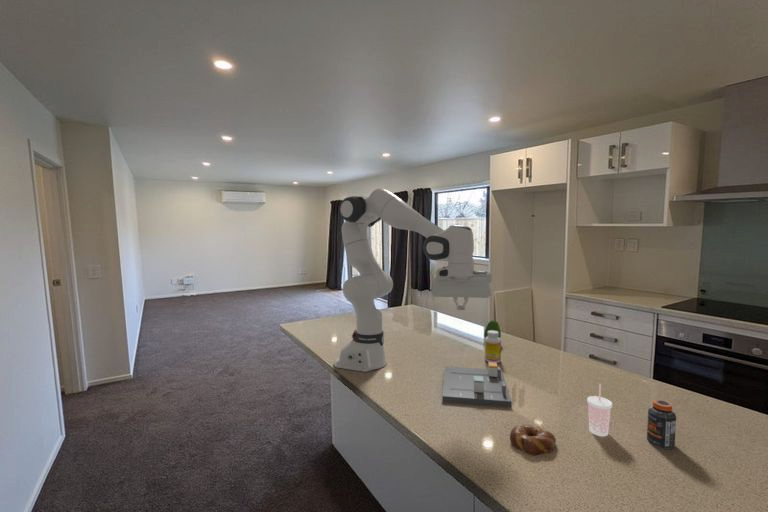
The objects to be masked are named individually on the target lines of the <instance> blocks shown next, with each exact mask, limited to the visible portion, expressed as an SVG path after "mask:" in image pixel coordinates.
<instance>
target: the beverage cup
mask: <svg viewBox="0 0 768 512" xmlns="http://www.w3.org/2000/svg"><path fill="white" fill-rule="evenodd" d="M601 393H602V383H598V396H597V395H591V396H587V398H586V399H587V400H586V403H587V406H588V407H587V408H588V411H587V412H588V431H589V432H590V433H591V434H593V435H596V436H598V437H607V436H608V435H609V427H610V419H611V412H612V411H611V410H612V408H613V402H612V401H611V400H609V399H608V398H605V397H603V396H602V394H601Z"/></svg>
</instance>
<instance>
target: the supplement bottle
mask: <svg viewBox="0 0 768 512" xmlns="http://www.w3.org/2000/svg"><path fill="white" fill-rule="evenodd" d="M487 334H488V336H487V337H486V338H485V337H484V361H486V362H487V363H488V362H496V363H497V364H499V363H500V362H501V360H502V359H501V358H502V355H501V354H502V353H501V350H502V348H501V346H502V339H501V337H500V338H499V337H498V335H499V332H498V331H494V330H490V331H487Z"/></svg>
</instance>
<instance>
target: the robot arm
mask: <svg viewBox="0 0 768 512" xmlns="http://www.w3.org/2000/svg"><path fill="white" fill-rule="evenodd" d="M338 209H339V214H340V217H341V218H342V219H343V220H344V222H343V223H342V225H341V236H342V243H343V247H344V250H345V253H346V257H347V262H348V264H349V265H350V266H351V267H352V268H354V269H356V271H357V272H358V273H359V275H355V276H352V277H350V278H347V279H346V280H345V281H344V283H343V285H342V293H343V296H344V298H345V299H346V300H347V302H349V303H350V304H351V305H352V306H353V309H354V313H355V318H356V319H355V320H356V328H355V329H354V330H353V332H352V334H351V338H352V339H351V340H350V341H348V343H346V344H345V345H344V346H342V349H340V353H339V356H338V357H337V358H336V359H335V360H334V364H333V365H334V367H335V368H339V369H344V370H350V371H357V372H364V373H366V372H367V373H368V372H370V371H373V370H377V369H382V368H383V367H385V366H386V365H387V363H388V362H387V358H386V355H385V350H384V349H385V348H384V343H385V335H384V330H383V313H382V311H381V310H380V309H378V308H377V306H376V304H375V299H378V298H379V299H380V298H383V297H385V296H387V295H388V294H390V293H391V292H392V290H393V288H394V281H393V278H392V276H390V274H388V273H386V272H385V271H384V270H383V268H381V266H380V264H379V262H378V261H377V259H376V257H375V255H374V253H373V249H372V246H371V243H370V239H369V237H368V232H367V230H368V227H369V228H371V227H373V226H374V225H375V224H376V223H378V222H379V221H381V220H382V221H383V222H385V224H387V225H388V226H390V227H392V228H394V229H398V230H405V231H412V232H416V233H417V234H420V235H422V236H423V237H425V240H424V242H423V245H422V246H423V247H422V248H423V249H422V250H423V253H424V255H425V257H426V258H427V259H428V260H430V261H436V262H437V261H445V260H447V265H446V266H442V267H440V268H437V269H436V270H435V277H434V279H433V282H432V285H431V286H432V287H431V288H432V289H431V294H432V296H433V297H434V298H438V297H440V298H453V300H452V301H453V302H454V303H455V305H456V310H457V311H458V310H460V311H465V310H466V305H467V304H468V302H469V298H472V299H473V298H475V299H476V298H477V299H478V298H479V299H482V298H483V299H488V298H489V297H490V296H491V295H492V294H491V282H492V274H491V273H490V272H488V271H486V270H474V267H475V265H474V263H475V262H474V257H473V256H474V255H473V254H474V250H475V245H474V232H473V230H472V228H471V227H470V226H467V225H463V224H450V226H448V227H447V228H446V229H443V228H441V227H440V226H438V225H437V224H435V223H433V222H432V221H430V220H429V218H426V217H425V216H423V215H421V214H420V213H419V212H418V211H417V210H415V209H414V208H413V207H411V206H410V205H409V204H408V203H407V202H406V201H404V200H403V199H402V198H400V197H399V196H397V194H396V195H395V194H394V193H392V192H391V191H389V190H387V189H385V188H376V189H374V190H373V191H372V192H371V193H370V194H369V195H368V196H357V195H356V196H355V195H354V196H347V197H345V198H344V199H343V200H342V201H341V202H340V203H339V208H338ZM458 298H463V300H464V301H463V303H459V302H458Z"/></svg>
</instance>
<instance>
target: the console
mask: <svg viewBox="0 0 768 512" xmlns="http://www.w3.org/2000/svg"><path fill="white" fill-rule="evenodd" d="M474 376H483V380H484V393H481V392H474ZM507 385H508V384H507V382H506V380H505V377H504V373H503V369H501V366H498V376H497V377H492V376H489V373H488V368H475V367H474V368H473V367H458V366H444V375H443V386H442V387H443V388H442V403H452V404H453V403H454V404H465V405H466V404H467V405H476V406H478V405H479V406H491V407H499V406H500V407H502V408H511V407H513V406H512V404H513V402H512V398H511V394H510V392H509V389H508V386H507Z"/></svg>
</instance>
